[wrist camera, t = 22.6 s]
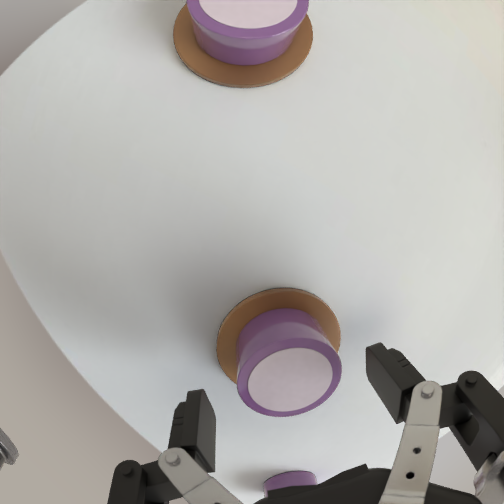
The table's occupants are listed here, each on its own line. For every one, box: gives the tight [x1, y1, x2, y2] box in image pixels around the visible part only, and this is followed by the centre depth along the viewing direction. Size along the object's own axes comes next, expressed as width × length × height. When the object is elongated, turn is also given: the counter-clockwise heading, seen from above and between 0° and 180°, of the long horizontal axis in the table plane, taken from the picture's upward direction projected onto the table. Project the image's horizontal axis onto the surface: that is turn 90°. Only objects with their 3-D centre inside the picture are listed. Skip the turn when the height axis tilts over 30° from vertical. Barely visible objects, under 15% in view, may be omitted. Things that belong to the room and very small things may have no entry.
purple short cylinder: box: [187, 0, 309, 65], centre depth 9 cm, size 5×5×3 cm
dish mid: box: [235, 308, 342, 417], centre depth 14 cm, size 5×5×3 cm
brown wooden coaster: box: [217, 288, 341, 384], centre depth 15 cm, size 7×7×1 cm
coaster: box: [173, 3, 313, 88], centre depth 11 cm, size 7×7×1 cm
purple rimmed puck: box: [263, 471, 317, 497], centre depth 19 cm, size 5×5×3 cm
